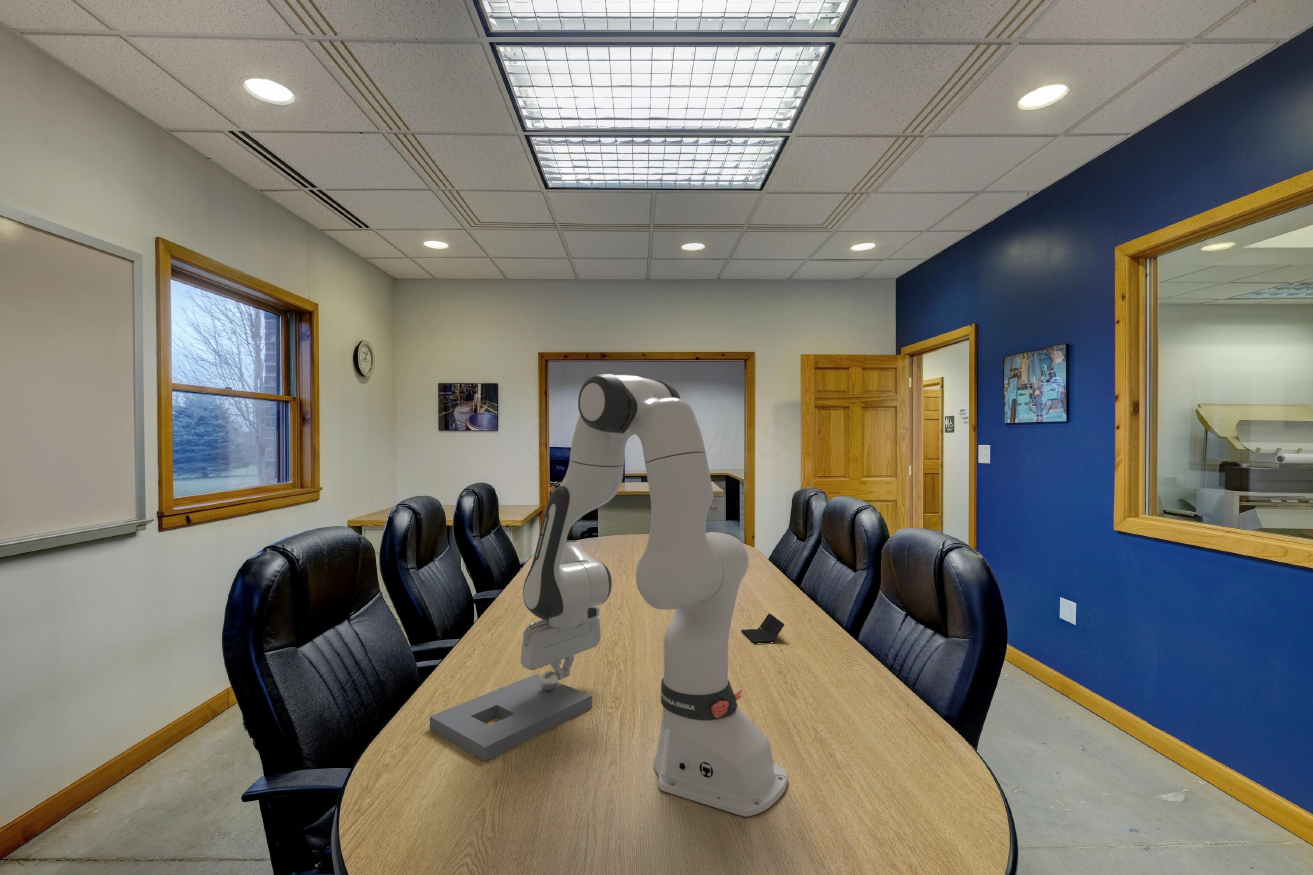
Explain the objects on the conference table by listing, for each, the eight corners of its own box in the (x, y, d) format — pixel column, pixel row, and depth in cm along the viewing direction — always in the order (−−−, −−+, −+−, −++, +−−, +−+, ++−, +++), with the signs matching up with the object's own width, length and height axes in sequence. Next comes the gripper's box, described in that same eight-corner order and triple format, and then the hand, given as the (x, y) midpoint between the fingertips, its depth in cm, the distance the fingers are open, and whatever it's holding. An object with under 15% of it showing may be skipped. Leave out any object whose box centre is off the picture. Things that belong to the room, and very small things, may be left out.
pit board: (591, 707, 116) (592, 695, 116) (484, 762, 96) (484, 747, 96) (536, 684, 127) (536, 673, 127) (429, 729, 107) (429, 716, 107)
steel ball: (562, 689, 119) (562, 671, 119) (547, 696, 116) (547, 676, 116) (549, 684, 121) (549, 666, 121) (535, 691, 118) (535, 672, 118)
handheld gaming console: (734, 627, 164) (755, 600, 165) (750, 640, 166) (770, 613, 167) (753, 646, 153) (775, 617, 154) (770, 659, 155) (791, 630, 157)
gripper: (533, 628, 112) (533, 697, 111) (604, 606, 128) (604, 667, 127) (514, 622, 116) (514, 689, 115) (585, 601, 132) (585, 660, 131)
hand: (562, 677), depth 121 cm, fingers closed
